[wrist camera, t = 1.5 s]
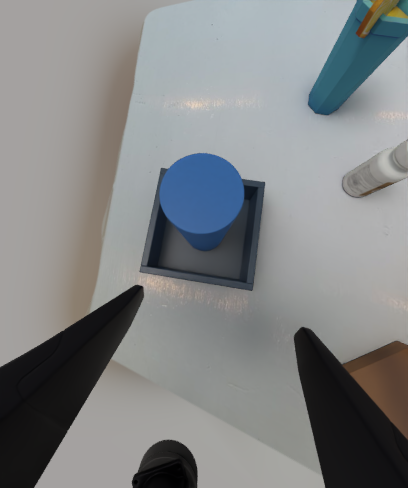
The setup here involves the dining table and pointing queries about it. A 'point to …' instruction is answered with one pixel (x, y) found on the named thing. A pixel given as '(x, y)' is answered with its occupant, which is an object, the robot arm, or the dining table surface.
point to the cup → (359, 51)
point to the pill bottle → (378, 171)
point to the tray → (213, 261)
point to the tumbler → (202, 198)
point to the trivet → (385, 380)
